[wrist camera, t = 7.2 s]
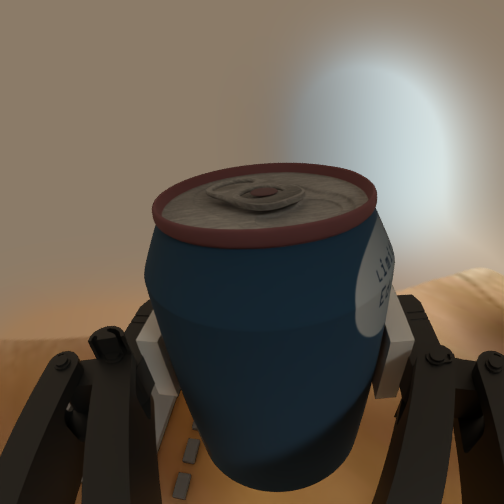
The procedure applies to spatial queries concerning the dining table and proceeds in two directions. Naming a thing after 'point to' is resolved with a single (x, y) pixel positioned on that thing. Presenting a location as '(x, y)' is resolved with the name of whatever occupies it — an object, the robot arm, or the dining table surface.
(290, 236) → the soda can
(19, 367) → the dining table surface
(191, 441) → the perforation line
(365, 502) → the dining table surface
